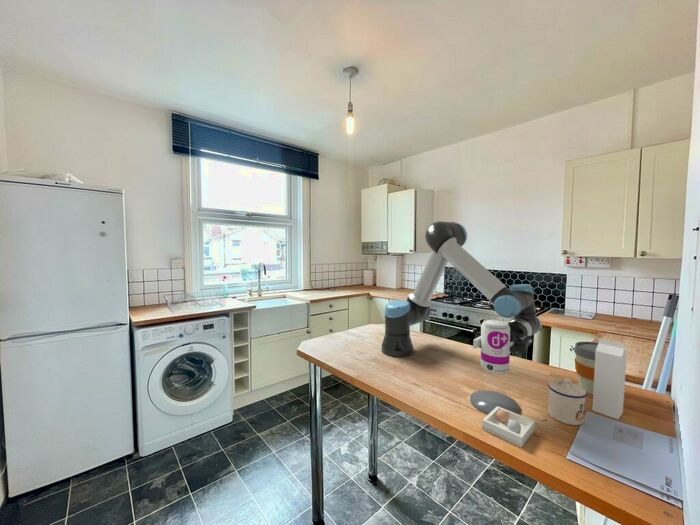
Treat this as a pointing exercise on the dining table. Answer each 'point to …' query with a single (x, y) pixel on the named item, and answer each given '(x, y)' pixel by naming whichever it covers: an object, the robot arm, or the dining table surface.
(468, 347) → the dining table surface
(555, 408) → the teacup with lid
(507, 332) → the supplement can
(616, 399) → the milk
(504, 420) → the ball terracotta
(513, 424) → the ball grey
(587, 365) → the reusable coffee cup
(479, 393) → the slate coaster
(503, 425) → the ball dish
